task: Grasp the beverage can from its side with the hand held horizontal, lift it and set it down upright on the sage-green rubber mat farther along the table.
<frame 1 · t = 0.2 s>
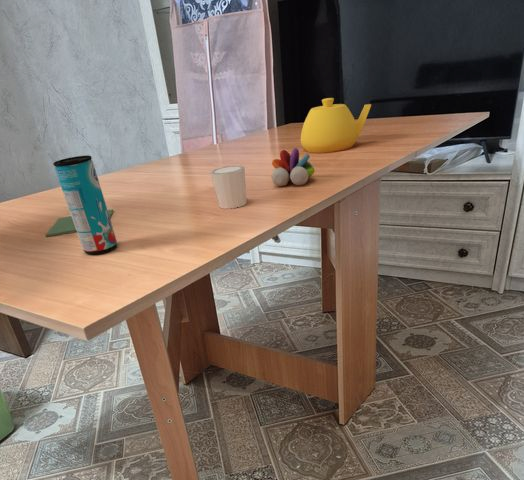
teapot: (336, 147, 136), on the table
beverage can: (101, 250, 82), on the table
white cup: (233, 205, 96), on the table
rainbow petal toy: (293, 183, 106), on the table
mat: (81, 223, 98), on the table
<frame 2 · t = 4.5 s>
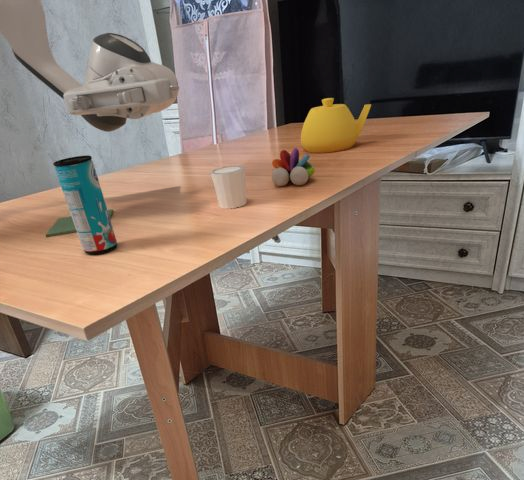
hand: (97, 101, 80), 22 cm above the table, tool horizontal, fingers open, 8 cm apart
nothing on the table moved.
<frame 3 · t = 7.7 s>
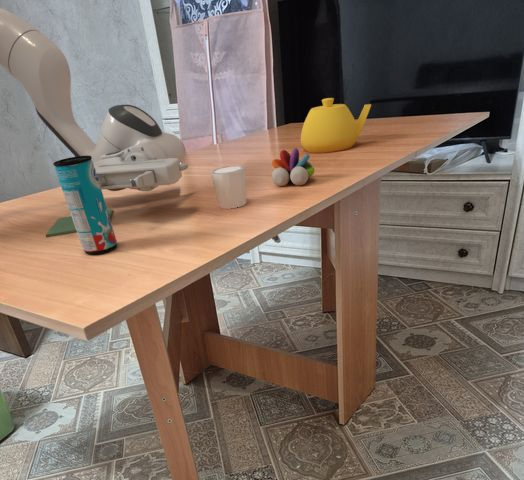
hand: (111, 185, 85), 9 cm above the table, tool horizontal, fingers open, 8 cm apart
nothing on the table moved.
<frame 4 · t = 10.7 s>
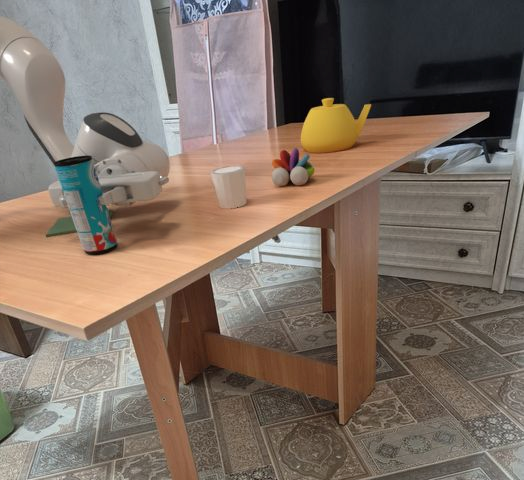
hand: (82, 202, 77), 9 cm above the table, tool horizontal, fingers closed on beverage can, 6 cm apart
beverage can: (101, 250, 82), on the table, touching gripper
everything else where it was.
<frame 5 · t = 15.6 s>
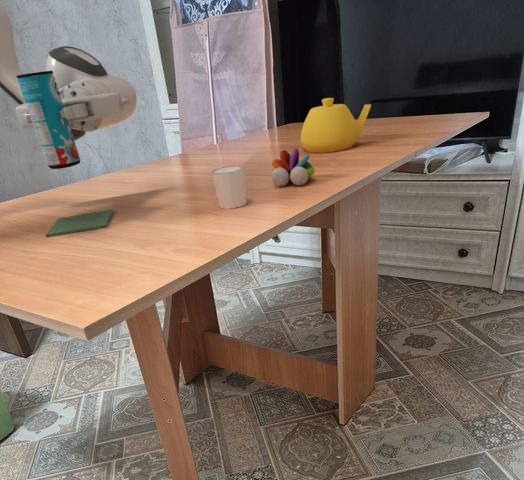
hand: (45, 116, 81), 21 cm above the table, tool horizontal, fingers closed on beverage can, 6 cm apart
beverage can: (65, 167, 87), point 12 cm above the table, touching gripper
everything else where it was.
when the fingers open (9 cm above the table, at t = 20.3 s): beverage can stays where it is, resting on mat.
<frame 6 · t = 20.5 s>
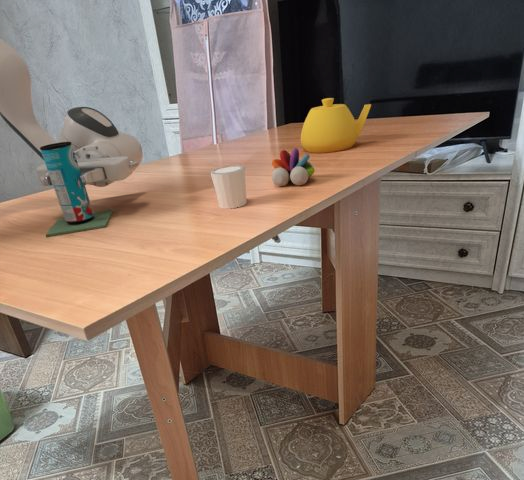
hand: (64, 180, 93), 9 cm above the table, tool horizontal, fingers open, 8 cm apart
beverage can: (81, 221, 98), resting on mat
everything else where it was.
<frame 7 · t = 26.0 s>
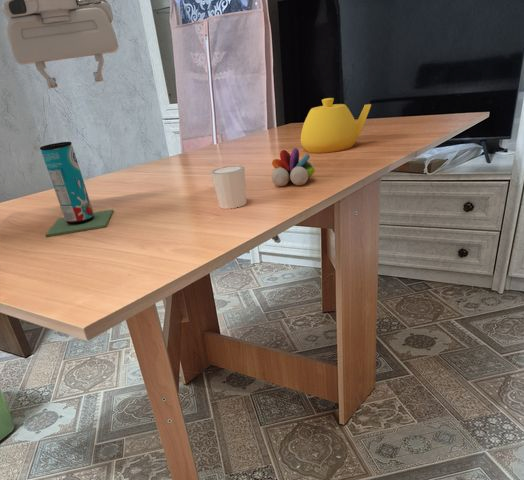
hand: (76, 84, 96), 25 cm above the table, tool pointing down, fingers open, 8 cm apart
nothing on the table moved.
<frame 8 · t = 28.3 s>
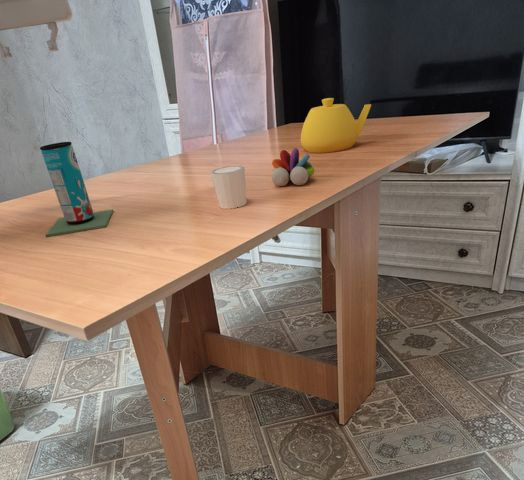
hand: (30, 54, 95), 31 cm above the table, tool pointing down, fingers open, 8 cm apart
nothing on the table moved.
at the end: beverage can inside the target area on the mat (0.2 cm from its centre), point 0.3 cm above the mat's base; beverage can tilted 0°; the gripper is holding nothing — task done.
